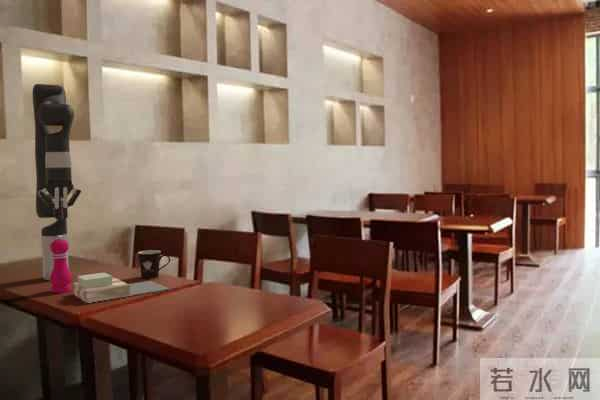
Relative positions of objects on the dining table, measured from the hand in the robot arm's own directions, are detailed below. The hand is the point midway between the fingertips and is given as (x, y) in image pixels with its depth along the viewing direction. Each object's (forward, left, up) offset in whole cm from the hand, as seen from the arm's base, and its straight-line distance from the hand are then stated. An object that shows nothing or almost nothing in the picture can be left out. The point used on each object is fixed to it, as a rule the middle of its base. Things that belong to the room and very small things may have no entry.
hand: (60, 219), depth 176 cm
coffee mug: (-16, +37, -27) cm, 49 cm away
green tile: (0, +10, -23) cm, 25 cm away
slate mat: (0, +26, -27) cm, 37 cm away
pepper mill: (-16, +3, -27) cm, 32 cm away
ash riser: (0, +12, -27) cm, 30 cm away
